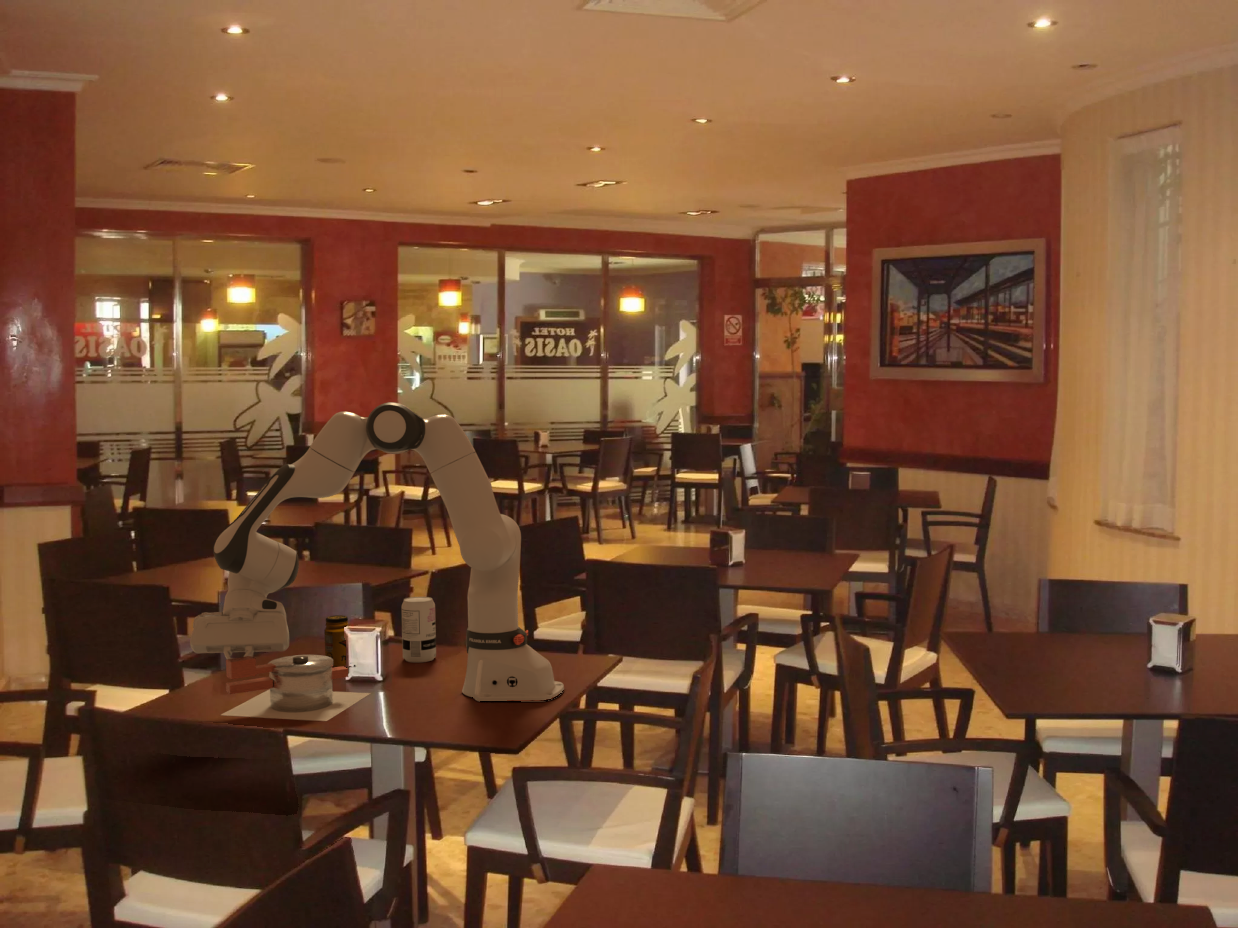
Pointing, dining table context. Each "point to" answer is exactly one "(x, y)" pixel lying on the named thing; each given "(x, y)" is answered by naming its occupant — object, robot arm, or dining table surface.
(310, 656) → the lid
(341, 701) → the mat
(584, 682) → the dining table surface
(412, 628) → the supplement can
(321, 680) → the cooker
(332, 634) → the condiment
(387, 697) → the dining table surface
